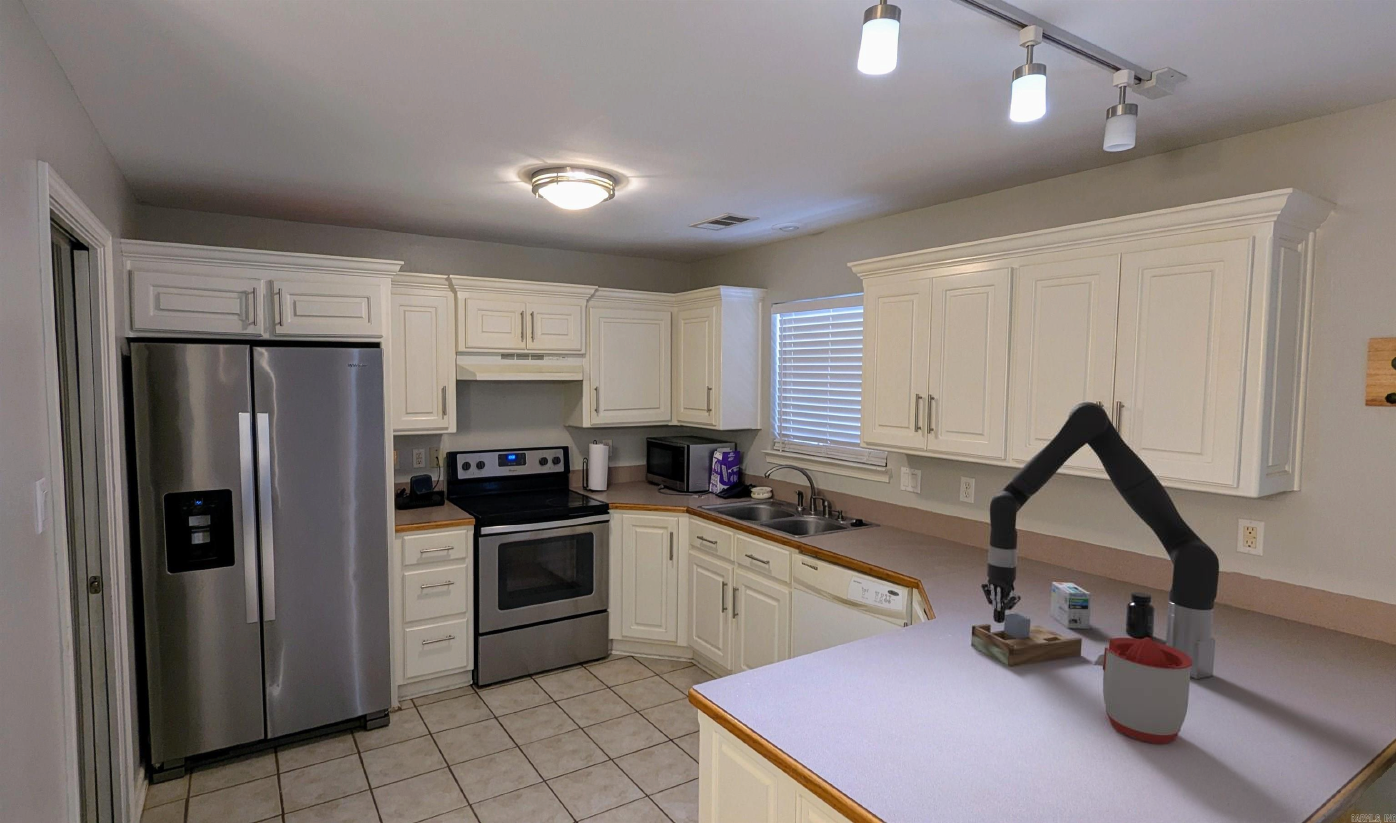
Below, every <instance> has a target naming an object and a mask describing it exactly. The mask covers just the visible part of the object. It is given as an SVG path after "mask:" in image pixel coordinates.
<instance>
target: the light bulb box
mask: <svg viewBox="0 0 1396 823" xmlns="http://www.w3.org/2000/svg"><path fill="white" fill-rule="evenodd" d="M1091 599H1092V593H1091V592H1089V591H1087V590H1086V589H1084V588H1082V587H1080V586H1078V585H1076V584H1075V583H1074V582H1060V581H1059V582H1058V581H1052V582H1051V601H1050V603H1051V604H1050V605H1051V606H1050V617H1052V618H1053V620H1054V619H1055V620H1056V621H1057V622H1058V623H1060V624H1061V625H1063V626H1064V627H1065V628H1067V629H1090V618H1091V601H1092V600H1091Z"/></svg>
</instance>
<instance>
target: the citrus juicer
mask: <svg viewBox="0 0 1396 823" xmlns="http://www.w3.org/2000/svg"><path fill="white" fill-rule="evenodd" d="M1103 653H1104V654H1100V655H1099V656H1097V658H1096V660H1095V661H1093V663H1092V665H1093V666H1101V667H1102V670H1103V673H1102V674H1103V675H1102V676H1103V678H1102V693H1103V702H1104V706H1105V710H1106V714H1107V718H1108V720H1109V723H1110V725H1111V727H1113V728H1114V729H1116V731H1117V732H1118V733H1121V734H1124V735H1125V736H1128V737H1130V738H1132V739H1133V738H1134V739H1136V740H1139V741H1143V742H1147V743H1151V744H1152V743H1154V744H1157V745H1163V744H1167V743H1169V744H1170V743H1171V742H1173V741H1174V740H1175V739H1176V738H1177V736H1178V735H1179V733H1180V732H1181V728H1182V727H1183V724H1184V722H1185V720H1186V715H1187V712H1188V705H1189V695H1190V683H1191V682H1190V681H1191V677H1190V670H1191V665H1192V664H1193V662H1192V659H1191V658H1190V657H1189V656H1188V655H1187V654H1185V653H1183V652H1181V651H1179V650H1177V649H1175V648H1172V647H1170V646H1167V645H1166V644H1163V643H1159V642H1155V641H1154V640H1153V639H1152V638H1151V639H1150V638H1148V637H1146V638H1144V639H1139V638H1135V637H1115V638H1114V637H1113V638H1110V639H1109V644H1108V647H1106V646H1105V647H1104V652H1103Z"/></svg>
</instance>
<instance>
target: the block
mask: <svg viewBox="0 0 1396 823" xmlns="http://www.w3.org/2000/svg"><path fill="white" fill-rule="evenodd" d="M1003 623H1004V624H1003V630H1004V633H1006V634H1008V635H1010V636H1012V637H1014V638H1016V639H1018V638H1025V637H1029V636H1030V627H1031V618H1029V617H1028V616H1025V615H1022V614H1020V613H1017V612H1016V613H1009V614H1008V613H1007V614H1005V620H1004V622H1003Z"/></svg>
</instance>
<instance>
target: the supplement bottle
mask: <svg viewBox="0 0 1396 823" xmlns="http://www.w3.org/2000/svg"><path fill="white" fill-rule="evenodd" d="M1130 600H1131V601H1128V602H1127V603H1126V618H1125V633H1126V634H1127V635H1128V636H1130V637H1131V638H1136V639H1144V638H1146V637H1148V638H1150V639H1151V640H1152V639H1153V638H1154V632H1155V631H1154V630H1155V615H1156V614H1155V613H1156V612H1155V610H1156V609H1155V607H1154V605H1152V604H1151V603H1152V595H1151V594H1149V593H1145V592H1140V591H1134V592H1131V596H1130Z"/></svg>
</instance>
